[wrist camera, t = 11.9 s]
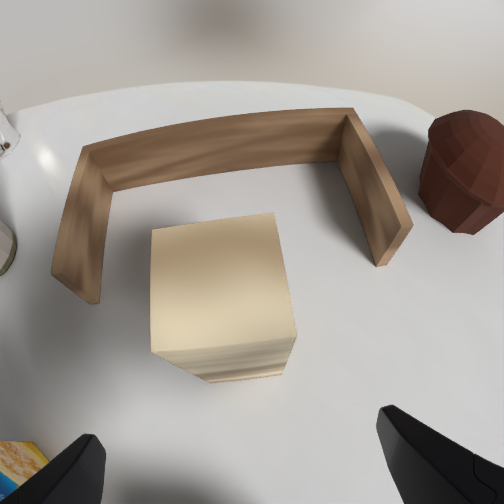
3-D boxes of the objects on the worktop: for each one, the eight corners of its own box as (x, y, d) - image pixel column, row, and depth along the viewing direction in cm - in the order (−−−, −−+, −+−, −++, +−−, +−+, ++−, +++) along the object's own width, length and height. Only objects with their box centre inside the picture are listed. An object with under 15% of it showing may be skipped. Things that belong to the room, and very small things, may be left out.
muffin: (479, 268, 23) (541, 207, 15) (390, 202, 27) (425, 120, 18) (500, 197, 27) (540, 138, 19) (427, 145, 31) (454, 78, 22)
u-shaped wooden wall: (386, 265, 24) (413, 225, 19) (89, 304, 24) (50, 274, 18) (343, 153, 30) (353, 107, 25) (105, 186, 30) (82, 146, 25)
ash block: (281, 374, 21) (297, 335, 10) (210, 383, 21) (151, 352, 10) (271, 308, 23) (273, 212, 12) (204, 317, 23) (152, 229, 12)
